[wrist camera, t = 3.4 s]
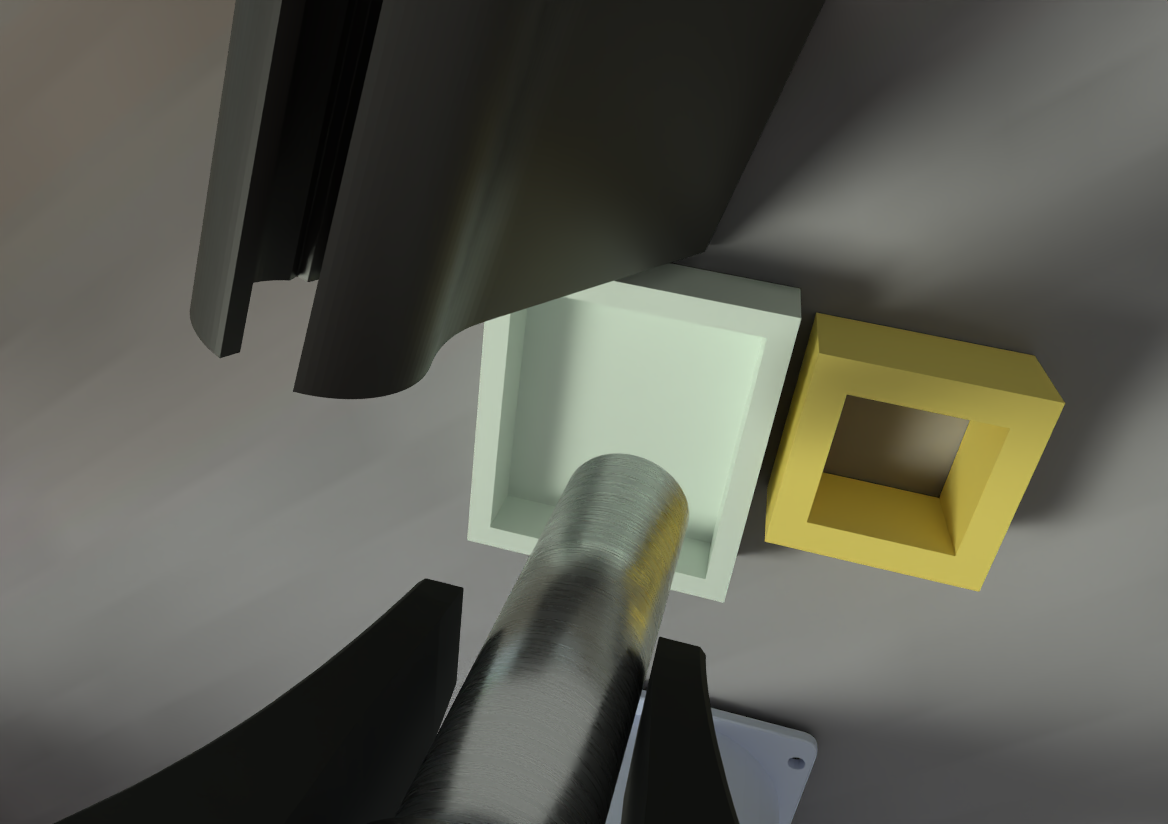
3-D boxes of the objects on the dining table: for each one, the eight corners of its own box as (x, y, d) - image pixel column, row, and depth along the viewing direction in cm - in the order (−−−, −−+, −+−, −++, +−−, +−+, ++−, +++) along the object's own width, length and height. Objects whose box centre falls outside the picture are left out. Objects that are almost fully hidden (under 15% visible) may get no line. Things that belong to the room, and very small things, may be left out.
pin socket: (960, 530, 22) (979, 591, 20) (767, 487, 23) (764, 541, 20) (1035, 355, 20) (1065, 403, 17) (815, 312, 20) (819, 353, 18)
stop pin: (692, 593, 17) (566, 1118, 9) (537, 550, 17) (301, 1013, 10) (727, 459, 15) (607, 966, 8) (555, 415, 16) (286, 849, 8)
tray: (728, 557, 24) (723, 602, 22) (489, 500, 25) (467, 539, 23) (800, 288, 20) (801, 318, 18) (514, 232, 21) (489, 256, 19)
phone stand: (833, -16, 17) (901, -3, 7) (705, 249, 20) (613, 542, 10) (428, -200, 17) (-130, -473, 7) (360, 90, 20) (-104, 211, 10)
